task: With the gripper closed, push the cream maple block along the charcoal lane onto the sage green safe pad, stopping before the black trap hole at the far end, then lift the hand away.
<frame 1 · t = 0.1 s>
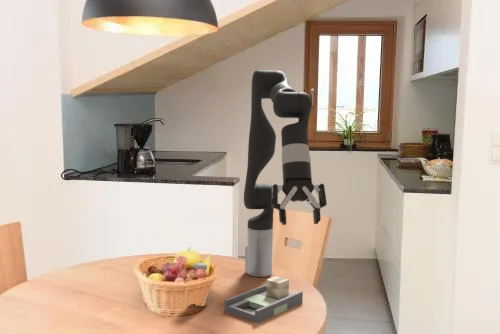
hand: (300, 224, 140), 31 cm above the table, tool tilted 20°, fingers open, 8 cm apart
maple block: (277, 295, 172), point 2 cm above the table, touching trap lane
trap lane: (264, 306, 167), on the table
salt shaker: (200, 304, 168), on the table
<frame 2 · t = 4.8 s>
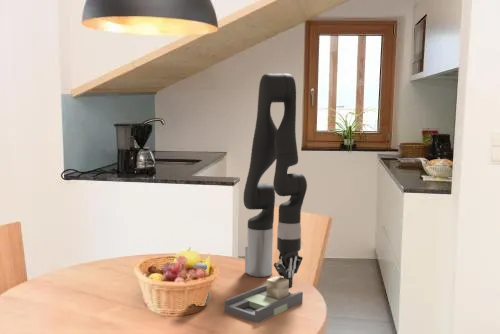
hand: (287, 287, 175), 3 cm above the table, tool pointing down, fingers closed
maple block: (277, 295, 172), point 2 cm above the table, touching gripper, trap lane
everything else where it was.
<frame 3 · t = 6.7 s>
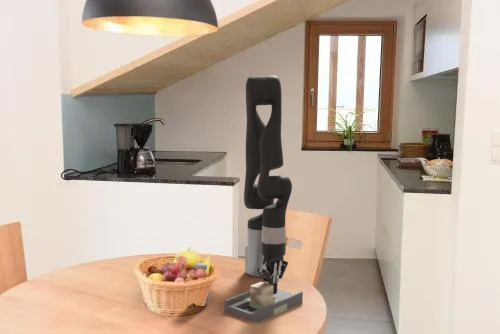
hand: (272, 293, 170), 3 cm above the table, tool pointing down, fingers closed
maple block: (261, 301, 166), point 2 cm above the table, touching gripper, trap lane
everything else where it was.
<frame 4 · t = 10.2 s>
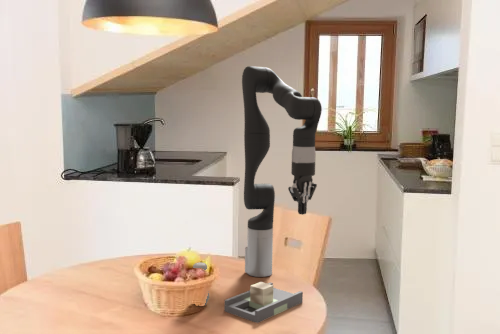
hand: (302, 213, 175), 27 cm above the table, tool pointing down, fingers closed
maple block: (261, 301, 166), point 2 cm above the table, touching trap lane
everything else where it was.
at the end: maple block inside the target area (1.4 cm from its centre), point 2.0 cm above the table; maple block tilted 0° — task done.
